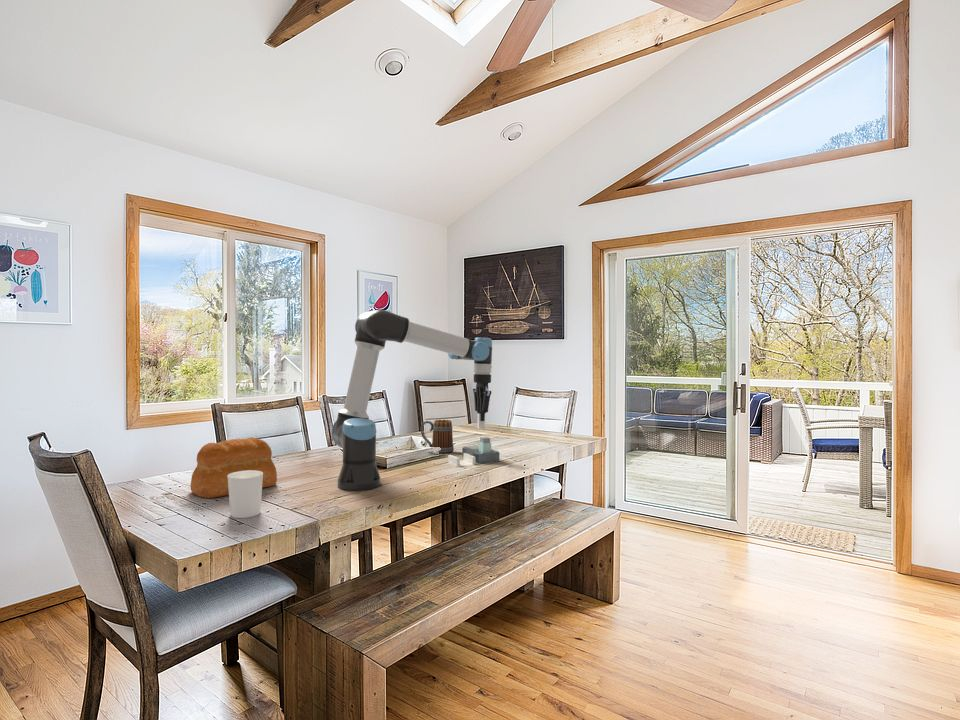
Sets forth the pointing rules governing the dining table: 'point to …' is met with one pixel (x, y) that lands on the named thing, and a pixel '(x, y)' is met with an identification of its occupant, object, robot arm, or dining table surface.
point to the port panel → (481, 455)
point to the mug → (440, 435)
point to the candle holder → (245, 493)
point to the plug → (484, 445)
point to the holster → (466, 461)
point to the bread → (230, 465)
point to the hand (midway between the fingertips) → (480, 428)
